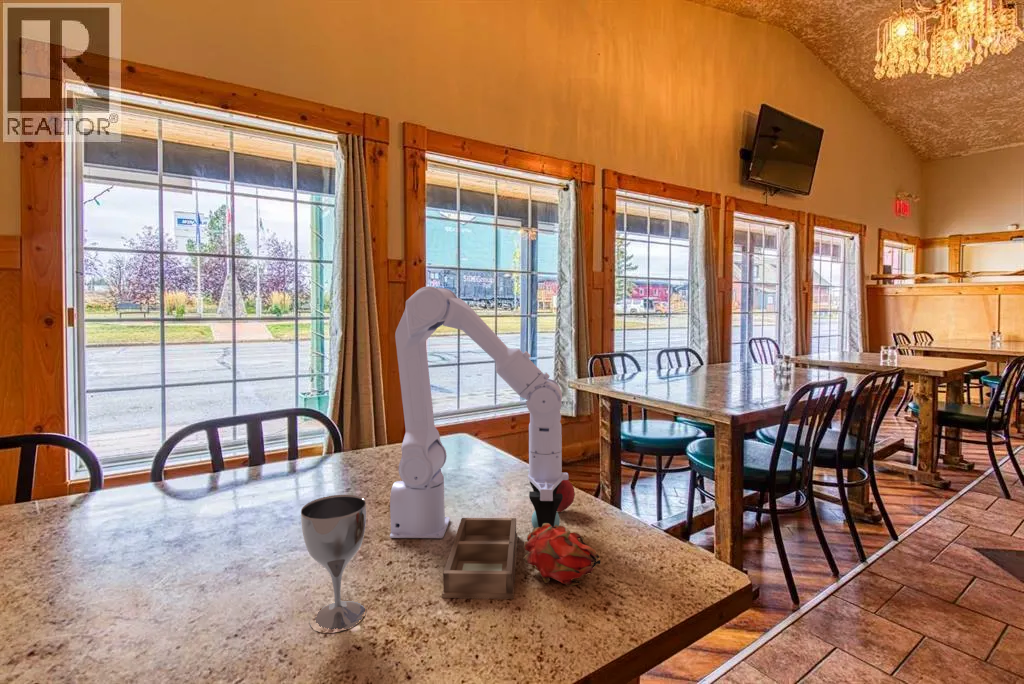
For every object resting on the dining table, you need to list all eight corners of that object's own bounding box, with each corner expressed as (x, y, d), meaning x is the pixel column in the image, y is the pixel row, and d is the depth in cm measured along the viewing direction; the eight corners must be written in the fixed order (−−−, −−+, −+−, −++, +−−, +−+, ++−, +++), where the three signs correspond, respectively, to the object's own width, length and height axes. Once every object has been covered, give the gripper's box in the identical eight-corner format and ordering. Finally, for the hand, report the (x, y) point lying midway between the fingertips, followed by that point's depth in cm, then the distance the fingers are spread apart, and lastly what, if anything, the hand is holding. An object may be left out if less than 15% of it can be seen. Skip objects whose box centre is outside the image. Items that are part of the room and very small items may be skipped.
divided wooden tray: (441, 597, 71) (441, 574, 71) (461, 535, 90) (460, 517, 90) (513, 598, 70) (512, 575, 70) (517, 536, 89) (517, 517, 89)
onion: (573, 519, 96) (573, 478, 96) (543, 517, 97) (543, 476, 97) (575, 507, 102) (575, 468, 101) (547, 505, 103) (547, 466, 102)
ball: (531, 540, 87) (531, 512, 87) (531, 527, 92) (531, 500, 92) (560, 540, 87) (560, 512, 87) (559, 527, 92) (559, 501, 92)
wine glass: (316, 600, 71) (311, 495, 69) (374, 597, 71) (370, 493, 70) (297, 637, 63) (291, 520, 62) (362, 633, 63) (358, 517, 62)
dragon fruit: (520, 574, 80) (594, 603, 75) (505, 566, 73) (585, 597, 68) (538, 521, 83) (609, 545, 78) (525, 508, 76) (603, 534, 72)
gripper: (571, 462, 81) (571, 544, 82) (565, 438, 96) (565, 508, 97) (527, 462, 81) (527, 544, 82) (528, 438, 96) (528, 508, 97)
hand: (545, 525), depth 90 cm, fingers closed on ball, 5 cm apart
